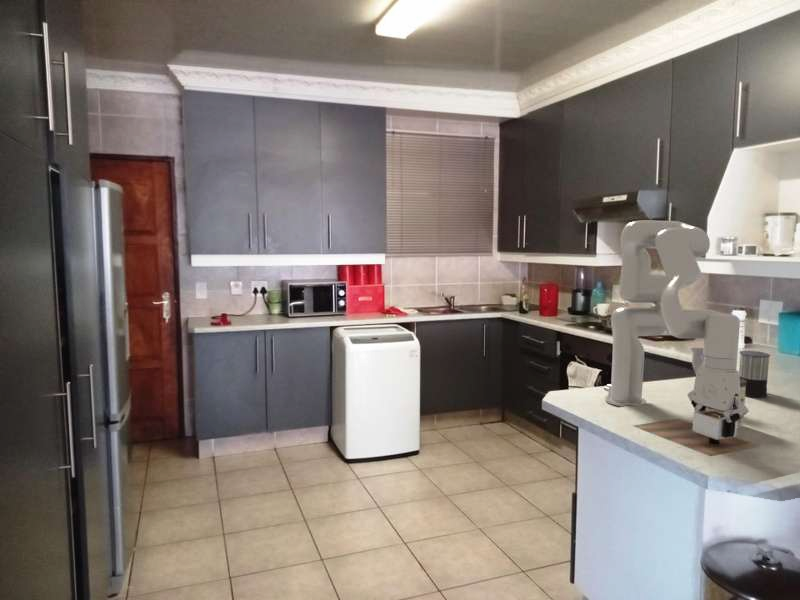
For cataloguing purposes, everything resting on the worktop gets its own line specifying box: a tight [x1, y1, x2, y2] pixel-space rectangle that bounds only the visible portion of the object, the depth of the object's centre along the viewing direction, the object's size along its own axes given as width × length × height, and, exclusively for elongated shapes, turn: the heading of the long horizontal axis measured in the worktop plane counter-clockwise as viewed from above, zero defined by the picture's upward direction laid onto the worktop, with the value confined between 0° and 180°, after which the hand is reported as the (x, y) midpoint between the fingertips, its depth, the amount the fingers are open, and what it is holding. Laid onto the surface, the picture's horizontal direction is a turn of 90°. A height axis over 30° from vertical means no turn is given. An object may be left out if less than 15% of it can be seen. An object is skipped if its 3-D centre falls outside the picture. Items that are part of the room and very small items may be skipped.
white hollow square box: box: [692, 409, 738, 440], centre depth 142 cm, size 7×7×5 cm
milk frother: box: [738, 350, 771, 399], centre depth 198 cm, size 14×16×15 cm
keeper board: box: [633, 418, 760, 457], centre depth 148 cm, size 24×18×2 cm
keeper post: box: [709, 414, 721, 444], centre depth 142 cm, size 3×3×7 cm
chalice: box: [690, 347, 703, 375], centre depth 182 cm, size 7×7×18 cm
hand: (714, 431), depth 142 cm, fingers closed on white hollow square box, 6 cm apart
